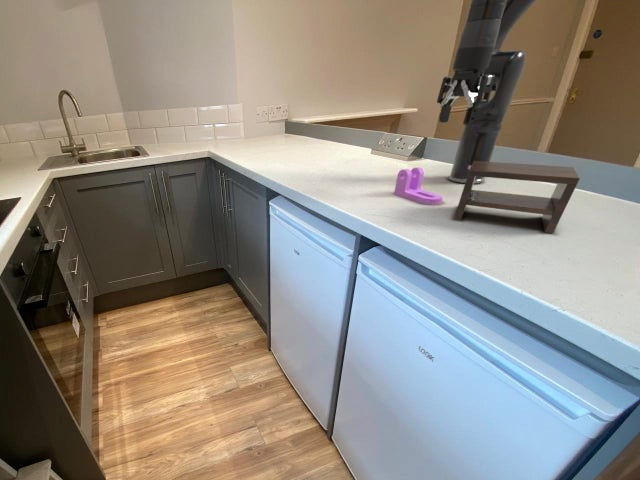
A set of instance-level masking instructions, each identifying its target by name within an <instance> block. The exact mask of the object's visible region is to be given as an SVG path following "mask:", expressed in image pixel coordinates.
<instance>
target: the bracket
mask: <svg viewBox="0 0 640 480" xmlns="http://www.w3.org/2000/svg"><path fill="white" fill-rule="evenodd" d="M424 176H425V172H424V169H423V167H414V168H412V169H411V170H410V169H409V168H405V169H400V170H399V172H398V173H397V177H396V182H395V187H394V191H393V194H394V195H396V196H399V197H402V198H405V199H408V200H410V201H414V202H416V203H420V204H423V205H429V206H437V205H441V204H442V201H443V197H444V196H442V195H440V194H437V193H434V192H430V191H427V190H423V189H422V185H423V184H422V183H423V180H424Z"/></svg>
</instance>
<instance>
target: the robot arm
mask: <svg viewBox="0 0 640 480" xmlns="http://www.w3.org/2000/svg"><path fill="white" fill-rule="evenodd" d="M536 1H537V0H470V3H469V6H468V10H467V15H466V18H465V22H464V25H463V28H462V30H461V34H460V37H459V41H458V45H457V49H456V52H455V56H454V61H453V65H452V71H453V72H454V74H453V76H443V79H442V83H441V85H440V89H439V93H438V96H437V100H436V102H437V104H439V105H440V106H441V110H440V114H439V118H438V119H439V120H438V121H439V123H442V124H443V123H448V122H449V118H450V114H451V110H452V106H453V104H454V102H455V101H456V100H457V99H459V98H460V97H464V99H465V100H466V102H467V106H468V107H467V108H466V111H465V115H464V119H463V122H462V125H463V129H462V132H461V137H460V140H459V144H458V147H457V150H456V154H455V157H454V161H453V163H452V166H451V167H452V168H451V171H450V174H449V177H448V180H449V181H451V182H455V183H460V184H465V182H466V179H467V176H468V173H469V170H470V168H471V166H472V164H473V162H474V161H484V162H491V159H492V156H493V153H494V150H495V147H496V144H497V141H498V138H499V135H500V132H501V129H502V125H503V123H504V120H505V117H506V114H507V112H508V110H509V108H510V106H511V104H512V102H513V99H514V96H515V93H516V91H517V87H518V85H519V83H520V80H521V77H522V75H523V72H524V69H525V66H526V62H527V55H526V54H527V53H526V52H525V51H524V50H522V49H509V50H501V49H502V48H503V45H504V43H505V41H506V39H507V37H508V36H509V34H510V32H511V31H512V29H513V28H514V26H515V25H516V24H517V22H518V21H519V20H521V18H522V17H523V16H524V15H525V14H526V12H527V11H528V10H529V9H531V7H532V6H533V5H534V4H535V3H536ZM491 92H492V93H493V92H494V93H493V95H492V97H491V98H490V96H491ZM484 180H485V177H479V176H476V178H475V181H474V184H482V183H483V182H484Z"/></svg>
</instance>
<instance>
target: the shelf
mask: <svg viewBox="0 0 640 480" xmlns="http://www.w3.org/2000/svg"><path fill="white" fill-rule="evenodd" d="M476 176H479V177H484V178H494V179H504V180H514V181H516V180H517V181H528V182H538V183H551V184H556V186H555V188H554V190H553V192H552V194H551V197H546V196H536V195H526V194H516V193H508V192H507V193H506V192H496V191H487V190H479V189H478V190H476V189H473V187H474V185H475V183H474V181H475V178H476ZM579 181H580V176H579V175H578V173H577V171H576V169H575V168H574V167H573V166H560V165H559V166H558V165H545V164H543V165H541V164H528V163H527V164H526V163H515V162H514V163H513V162H498V161H490V162H484V161H474V162H473V164H472V166H471V168H470V170H469V173H468V176H467V179H466V182H465V183H464V185H463V189H462V192H461V195H460V199H459V201H458V205H457V208H456V210H455V214H454V217H453V220H455V221H461V220H462V218H463V216H464V213H465V211H466V208H467V206H471V207H480V208H487V209H494V210H505V211H512V212H521V213H529V214H535V215H536V214H537V215H542V216H541V219H542V226H543V232H544V233H545V234H554V232H555V230H556V229H557V226H558V224H559V222H560V220H561V218H562V216H563V214H564V212H565V210H566V208H567V206H568V204H569V202H570V199H571V197H572V196H573V193H574V192H575V189H576V187H577V185H578V183H579Z"/></svg>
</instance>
